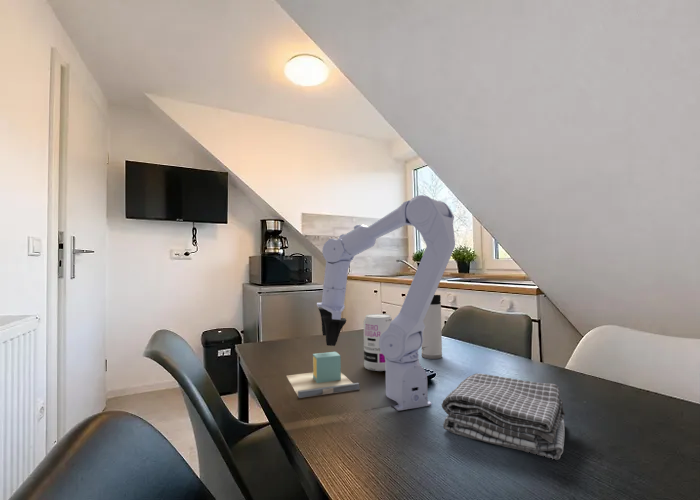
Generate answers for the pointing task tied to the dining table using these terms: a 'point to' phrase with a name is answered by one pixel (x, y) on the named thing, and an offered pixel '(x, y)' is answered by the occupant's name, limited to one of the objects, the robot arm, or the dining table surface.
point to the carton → (326, 367)
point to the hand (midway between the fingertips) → (328, 340)
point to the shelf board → (319, 385)
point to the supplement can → (374, 340)
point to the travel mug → (432, 330)
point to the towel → (508, 413)
